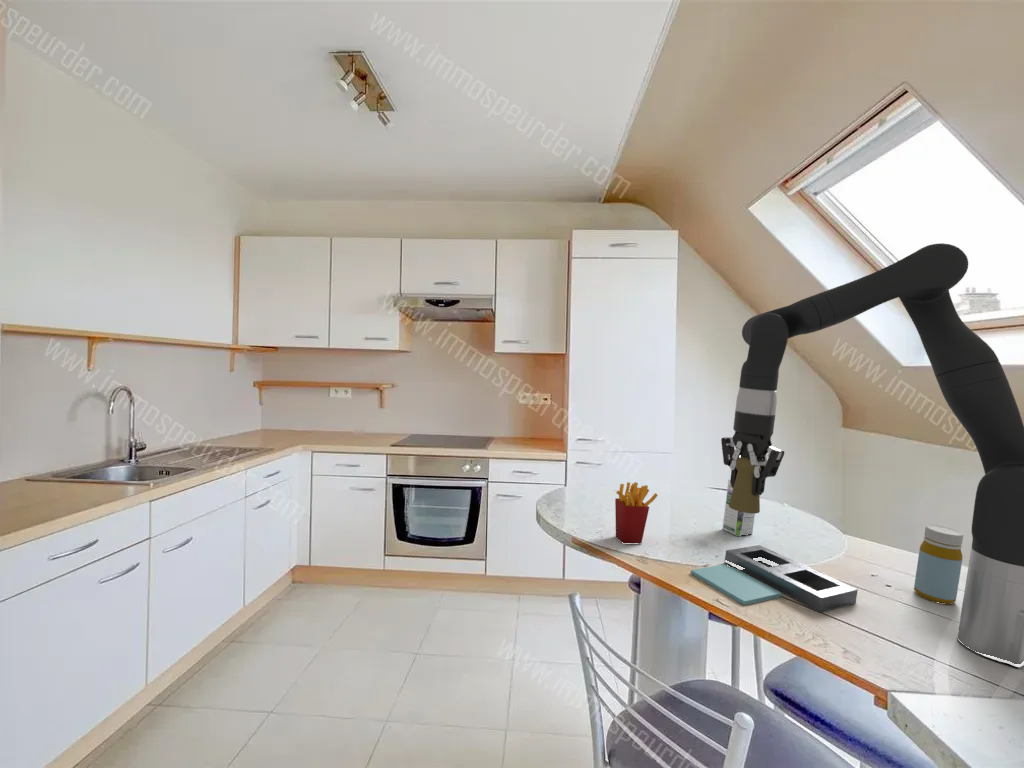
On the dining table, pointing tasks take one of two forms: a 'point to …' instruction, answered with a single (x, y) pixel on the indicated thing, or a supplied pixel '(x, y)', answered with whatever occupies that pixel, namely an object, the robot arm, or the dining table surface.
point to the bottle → (939, 564)
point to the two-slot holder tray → (793, 579)
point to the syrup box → (737, 518)
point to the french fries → (631, 513)
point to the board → (736, 584)
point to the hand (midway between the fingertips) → (746, 490)
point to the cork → (744, 488)
